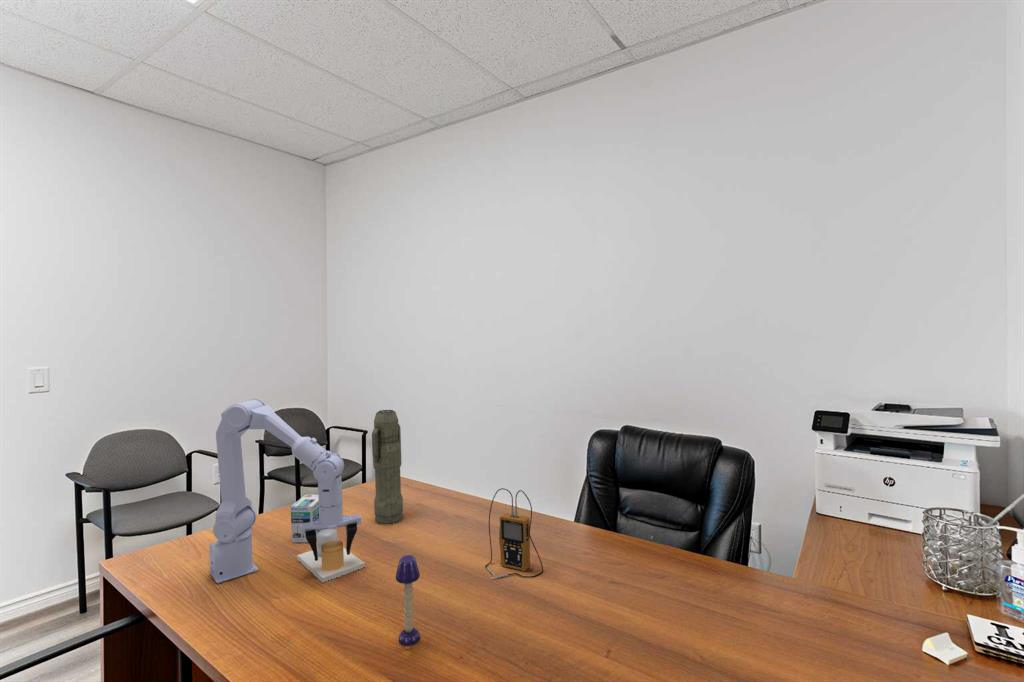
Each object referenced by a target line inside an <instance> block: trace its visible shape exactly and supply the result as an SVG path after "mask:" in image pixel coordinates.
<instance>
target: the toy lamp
mask: <svg viewBox="0 0 1024 682" xmlns="http://www.w3.org/2000/svg"><path fill="white" fill-rule="evenodd" d="M395 573H396V574H395V580H396V582H397V583H399V584H403V585H404V586H403V593H404V594H403V595H404V596H403V600H404V604H403V605H404V606H403V607H404V610H403V611H404V612H403V615H404V627H403V628H404V629H402V631H400V633H399V636H398V643H399V644H400V645H402V646H404V647H405V646H414V645H415V644H417V643H418V642H419V641H420V639H421V635H420V631H419V630H418V629H417V628H415V627H414V622H413V621H414V616H413V615H414V608H413V606H414V601H413V599H414V593H413V590H414V588H413V587H414V586H413V583H415V582H416V581H418V580H419V579H420V575H421V574H420V570H419V567H418V563H417V560H416V557H415V556H414V555H411V554H407V555H403V556H402V557H400V559H399V561H398V564H397V568H396V572H395Z"/></svg>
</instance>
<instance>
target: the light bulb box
mask: <svg viewBox="0 0 1024 682" xmlns="http://www.w3.org/2000/svg"><path fill="white" fill-rule="evenodd" d="M289 508H290V525H291V526H290V527H291V543H308V541H307V539H306V533H305V534H301V528H300V524H304V523H308V522H312V521H316V520H319V499H318V494H304V495H303V496H302V497H301V498H299V500H297V501H296V502H294V503H293V504H292V505H291V506H290V507H289ZM320 531H322V530H318V531H316V540H317V533H318V532H320Z"/></svg>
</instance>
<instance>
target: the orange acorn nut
mask: <svg viewBox="0 0 1024 682" xmlns="http://www.w3.org/2000/svg"><path fill="white" fill-rule="evenodd" d="M343 547H344V543H343V541H342V540H339V539H338V540H331V541H327V542H325V543H323V544H322V545H321V557H322V570H327V571H331V570H336V569H339V568H341V567H342V566H344V553H343Z"/></svg>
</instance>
